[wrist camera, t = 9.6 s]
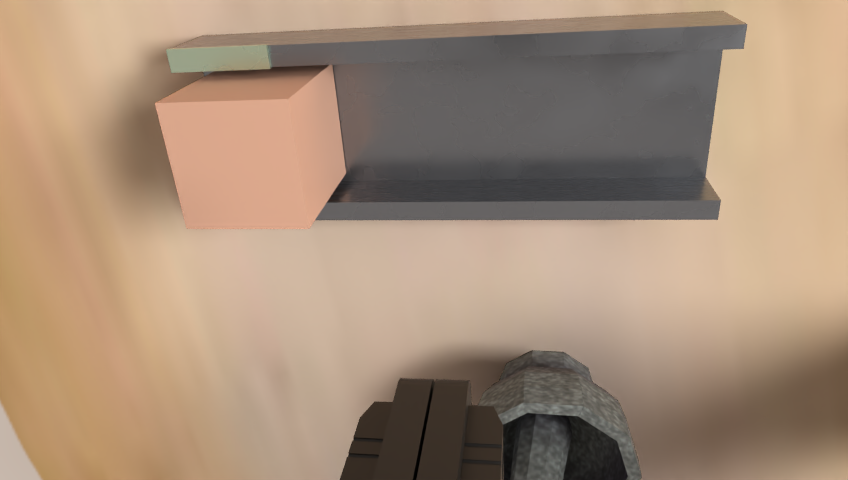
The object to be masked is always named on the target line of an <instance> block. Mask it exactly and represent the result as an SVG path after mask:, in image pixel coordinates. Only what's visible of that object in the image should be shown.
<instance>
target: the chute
mask: <svg viewBox="0 0 848 480" xmlns="http://www.w3.org/2000/svg"><path fill="white" fill-rule="evenodd" d="M746 29H747V24H746V23H744V22H742V21H740V20H739V19H737V18H735V17H733V16H731V15H729V14H728V13H726V12H724V11H712V12H691V13H670V14H649V15H627V16H606V17H585V18H564V19H543V20H522V21H501V22H480V23H459V24H437V25H416V26H395V27H374V28H353V29H332V30H311V31H290V32H269V33H247V34H226V35H205V36H201V37H198V38H196V39H193V40H191V41H188V42H186V43H183V44H181V45H179V46H176V47H174V48H171V49H166V52H167V57H168V61H169V65H170V69H171V73H181V72H203V73H204V76H206V75H208V74H210V73H212V72H214V71H233V70H259V69H271V68H272V67H286V66H311V65H332V66H333V74H334V82H335V89H336V97H337V105H338V113H339V121H340V129H341V136H342V144H343V152H344V160H345V168H346V174H345V176H344V177H343V179H342V180H341V182H340V183H339V185H338V186H337V188H336V189H335V191H334V192H333V194H332V195H331V197H330V198H329V200H328V201H327V203H326V204H325V206H324V207H323V209H322V210H321V212H320V213H319V215H318V216H317V218H316V219H315V220H718V215H719V209H720V202H721V200H720V198H719V197H718V195H717V194H716V192H715V191H714V189H713V188H712V186H711V185H710V183H709V182H708V180H707V179H706V177H705V176H706V168H707V161H708V153H709V146H710V139H711V131H712V124H713V117H714V109H715V102H716V95H717V87H718V80H719V73H720V65H721V58H722V51H723V49H744V42H745V35H746Z"/></svg>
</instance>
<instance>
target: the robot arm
mask: <svg viewBox="0 0 848 480" xmlns="http://www.w3.org/2000/svg"><path fill="white" fill-rule="evenodd" d="M340 480H504V465H503V424H502V422H501V420H500V418H499V416H498V414H497V412H496V410H495V408H494V406H473V405H472V404H471V384H470V381H467V380H439V379H436V381H434V379H407V378H400V380H399V382H398V385H397V389H396V393H395V397H394V400H393V402H374V403H373V404H372V405H371V406H370V407H369V408H368V410H367V411H366V412H365V413H364V414H363V415H362V416H361V417H360V419H359V422H358V425H357V428H356V431H355V435H354V440H353V441H352V444H351V447H350V450H349V456H348V457H347V459H346V462H345V466H344V469H343V472H342V475H341V478H340Z"/></svg>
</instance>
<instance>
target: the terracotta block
mask: <svg viewBox="0 0 848 480" xmlns="http://www.w3.org/2000/svg"><path fill="white" fill-rule="evenodd" d="M155 106H156V110H157V114H158V118H159V122H160V126H161V130H162V134H163V138H164V142H165V145H166V149H167V153H168V157H169V161H170V165H171V169H172V173H173V177H174V181H175V185H176V189H177V192H178V196H179V200H180V204H181V208H182V212H183V216H184V220H185V224H186V228H187V229H309V228H310V227H311V225H312V224H313V222H314V221H315V219H316V218H317V216H318V215H319V213H320V212H321V210H322V209H323V207H324V206H325V204H326V203H327V201H328V200H329V198H330V197H331V195H332V194H333V192H334V191H335V189H336V188H337V186H338V185H339V183H340V182H341V180H342V179H343V177H344V176H345V174H346V168H345V160H344V152H343V144H342V136H341V129H340V121H339V113H338V105H337V97H336V89H335V82H334V74H333V66H332V65H311V66H286V67H272V68H271V69H259V70H233V71H214V72H212V73H210V74H208V75H206V76H204V77H202V78H201V79H199V80H197V81H195V82H193V83H191V84H189V85H188V86H186V87H184V88H182V89H180V90H178V91H176V92H175V93H173V94H171V95H169V96H167V97H165V98H163V99H162V100H160V101H158V102H156V103H155Z"/></svg>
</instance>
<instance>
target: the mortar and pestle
mask: <svg viewBox="0 0 848 480" xmlns="http://www.w3.org/2000/svg"><path fill="white" fill-rule="evenodd" d="M478 406H494V408H495V410H496V412H497V414H498V416H499V418H500V420H501V422H502V424H503V465H504V480H640V479H641V478H642V476H641V471H640V466H639V461H638V457H637V454H636V451H635V447H634V444H633V441H632V437H631V434H630V431H629V427H628V424H627V420H626V417H625V415H624V413H623V411H622V408H621V406H620V404H619V402H618V401H617V400H616V399H615V398H614V397H612V396H611V395H610V394H609V393H607V392H606V391H605V390H603V389H602V388H600V387H599V386H597V385H596V384H594V383H593V382H592V379H591V376H590V372H589V369H588V368H587V367H586V366H584V365H583V364H581V363H580V362H578V361H576V360H575V359H573V358H572V357H570V356H569V355H567V354H566V353H564V352H552V351H530V352H528V353H526V354H524V355H523V356H521V357H519V358H517V359H515V360H513V361H511V362H509V363H507V364H506V366H505V369H504V371H503V373H502V375H501V378H500V380H499V382H497V383H495V384H493V385H492V386H491V387H490V388H489V389H487V390H486V391H485V392H484V393H483V395H482V397H481V399H480V402H479V404H478Z"/></svg>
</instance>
